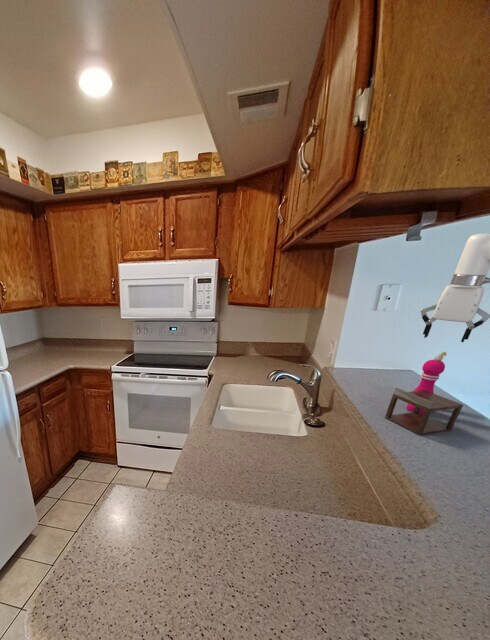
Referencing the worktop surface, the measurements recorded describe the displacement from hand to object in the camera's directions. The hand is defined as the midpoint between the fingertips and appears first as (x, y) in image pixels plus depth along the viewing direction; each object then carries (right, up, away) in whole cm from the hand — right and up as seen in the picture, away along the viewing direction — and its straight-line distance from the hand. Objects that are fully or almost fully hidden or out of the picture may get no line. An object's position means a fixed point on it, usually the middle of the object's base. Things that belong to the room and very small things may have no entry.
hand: (443, 339), depth 107 cm
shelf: (-7, -28, +2) cm, 29 cm away
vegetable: (+5, -20, +17) cm, 27 cm away
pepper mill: (0, -23, +12) cm, 26 cm away
